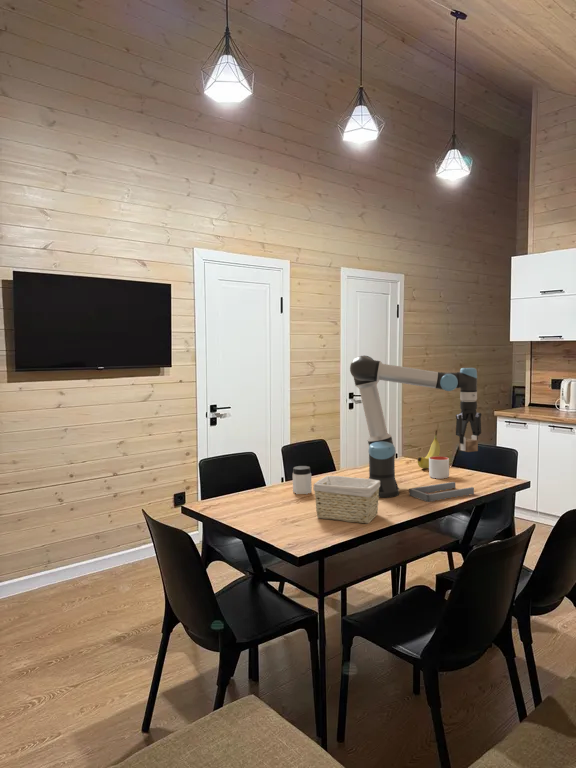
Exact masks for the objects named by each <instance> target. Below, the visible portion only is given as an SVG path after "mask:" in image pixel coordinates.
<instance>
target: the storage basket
mask: <svg viewBox="0 0 576 768" xmlns="http://www.w3.org/2000/svg"><path fill="white" fill-rule="evenodd" d="M379 487H380V481H379V480H373V479H369V478H363V477H350V476H343V475H342V476H340V475H326V476H324V477H322V478H320V479H318V480H317V481H316V482H315V483H313V487H312V488H313V491H314V498H315V499H314V500H315V509H316V516H317V518H318V519H323V520H325V519H326V520H333V521H343V522H347V523H358V524H370V523H371V521H372V520H373V519H375V517H377V515H378V509H379V499H380V497H379Z"/></svg>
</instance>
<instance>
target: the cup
mask: <svg viewBox="0 0 576 768" xmlns="http://www.w3.org/2000/svg"><path fill="white" fill-rule="evenodd" d="M428 471H429V472H428V475H429V477H430V478H432V479H435V478H436V479H438V480H445V479H447V478H449V476H450V458H449V457H446V456H440V455H439V456H435V457H430V458H429V468H428ZM444 478H445V479H444Z"/></svg>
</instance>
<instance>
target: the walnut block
mask: <svg viewBox="0 0 576 768" xmlns="http://www.w3.org/2000/svg"><path fill="white" fill-rule="evenodd" d="M478 441H479V440H473V439H471V438H466V451H464V452H465V453H472V452H473V453H474V452H478V451H479V447H478V446H479V445H478V444H479V442H478ZM458 451H461V452H463V451H462V450H460V439H458Z"/></svg>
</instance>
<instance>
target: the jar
mask: <svg viewBox="0 0 576 768" xmlns="http://www.w3.org/2000/svg"><path fill="white" fill-rule="evenodd" d="M292 469H293V471H292V493H293V492H295V493H296V494H295V493H294V494H295V495H297V494H306V495H309V494H311V492H312V488H313V487H312V473H311V467H310V466H307V465H298V466H294V467H293V468H292ZM308 493H309V494H308Z"/></svg>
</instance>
